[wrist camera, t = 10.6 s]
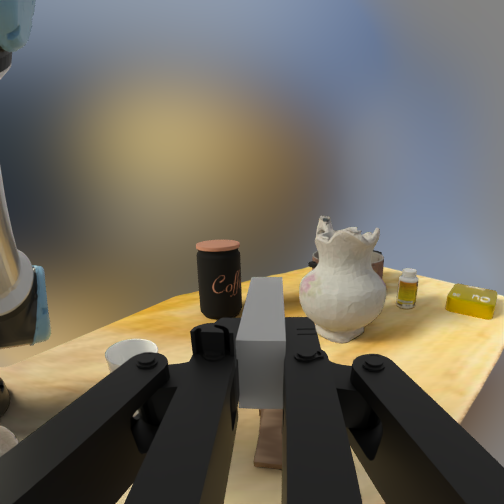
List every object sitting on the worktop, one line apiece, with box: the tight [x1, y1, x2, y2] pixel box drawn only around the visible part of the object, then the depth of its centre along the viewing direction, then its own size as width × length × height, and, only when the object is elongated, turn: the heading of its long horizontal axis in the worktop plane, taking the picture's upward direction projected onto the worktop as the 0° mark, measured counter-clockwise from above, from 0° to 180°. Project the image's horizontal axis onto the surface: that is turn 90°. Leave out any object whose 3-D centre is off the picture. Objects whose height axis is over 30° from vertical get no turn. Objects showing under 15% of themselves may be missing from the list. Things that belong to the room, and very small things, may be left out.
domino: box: [254, 409, 283, 469], centre depth 34 cm, size 5×2×10 cm
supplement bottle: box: [396, 268, 418, 309], centre depth 77 cm, size 6×6×10 cm
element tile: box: [445, 284, 497, 320], centre depth 72 cm, size 15×15×5 cm
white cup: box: [105, 339, 158, 416], centre depth 41 cm, size 8×8×10 cm
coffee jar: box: [196, 240, 242, 320], centre depth 78 cm, size 11×11×18 cm
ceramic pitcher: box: [299, 215, 387, 343], centre depth 66 cm, size 22×20×25 cm
